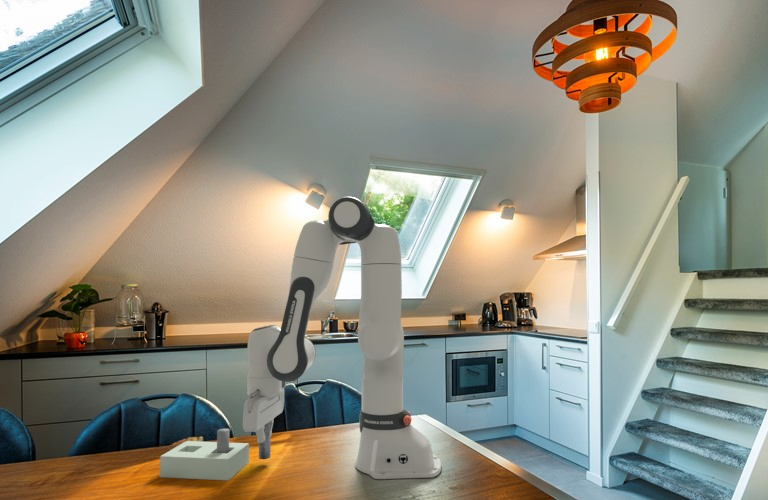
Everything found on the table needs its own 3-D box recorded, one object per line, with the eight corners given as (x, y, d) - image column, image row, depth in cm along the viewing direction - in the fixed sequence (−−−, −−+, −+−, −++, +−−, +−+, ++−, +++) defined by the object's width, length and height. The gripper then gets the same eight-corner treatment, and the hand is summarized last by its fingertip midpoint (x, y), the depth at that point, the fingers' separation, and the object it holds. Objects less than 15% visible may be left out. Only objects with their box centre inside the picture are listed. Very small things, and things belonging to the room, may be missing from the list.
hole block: (248, 462, 124) (249, 424, 125) (228, 480, 113) (229, 438, 113) (186, 459, 127) (187, 422, 128) (159, 477, 115) (161, 435, 116)
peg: (272, 455, 124) (271, 417, 125) (267, 459, 121) (267, 420, 122) (261, 455, 125) (261, 417, 126) (256, 459, 122) (256, 420, 123)
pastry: (166, 456, 130) (166, 442, 130) (170, 449, 136) (171, 435, 137) (202, 453, 132) (202, 439, 133) (204, 446, 139) (204, 433, 139)
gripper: (260, 394, 114) (260, 452, 113) (287, 379, 134) (288, 428, 133) (236, 394, 115) (236, 452, 114) (267, 379, 135) (267, 428, 134)
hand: (264, 439), depth 123 cm, fingers closed on peg, 3 cm apart
